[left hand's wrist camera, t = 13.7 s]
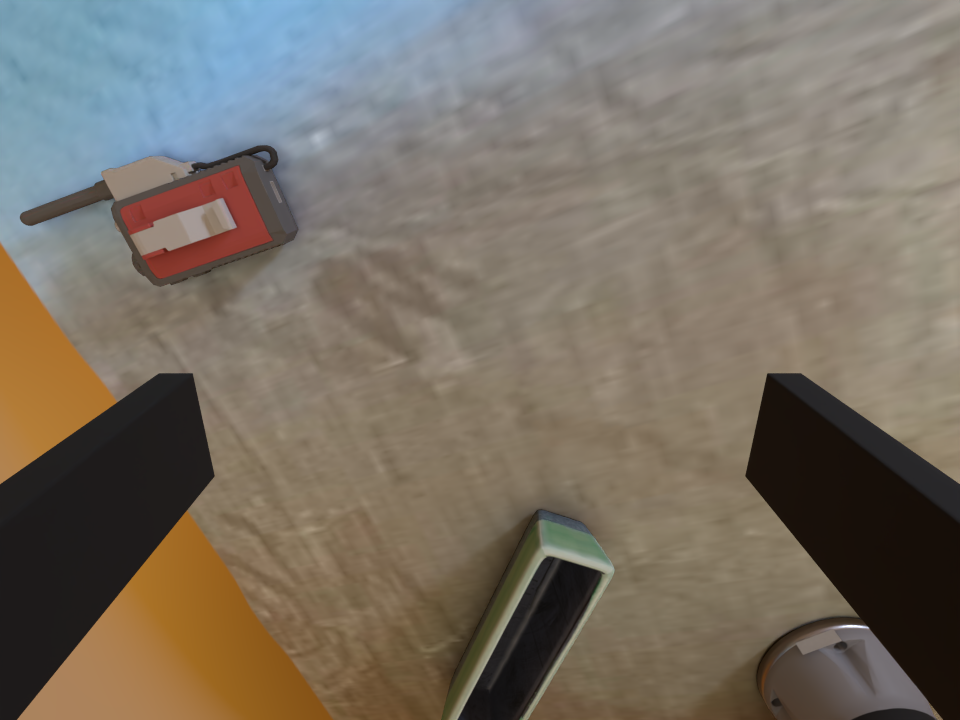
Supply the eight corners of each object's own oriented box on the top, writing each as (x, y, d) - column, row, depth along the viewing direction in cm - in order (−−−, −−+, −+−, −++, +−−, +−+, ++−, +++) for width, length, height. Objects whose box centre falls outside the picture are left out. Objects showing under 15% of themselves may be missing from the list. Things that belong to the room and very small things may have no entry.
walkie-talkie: (266, 115, 38) (28, 204, 41) (241, 111, 34) (-23, 210, 37) (317, 234, 41) (93, 310, 44) (299, 243, 37) (52, 327, 40)
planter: (532, 493, 50) (540, 545, 44) (601, 515, 51) (619, 569, 45) (437, 685, 60) (432, 753, 53) (497, 701, 61) (499, 769, 54)
